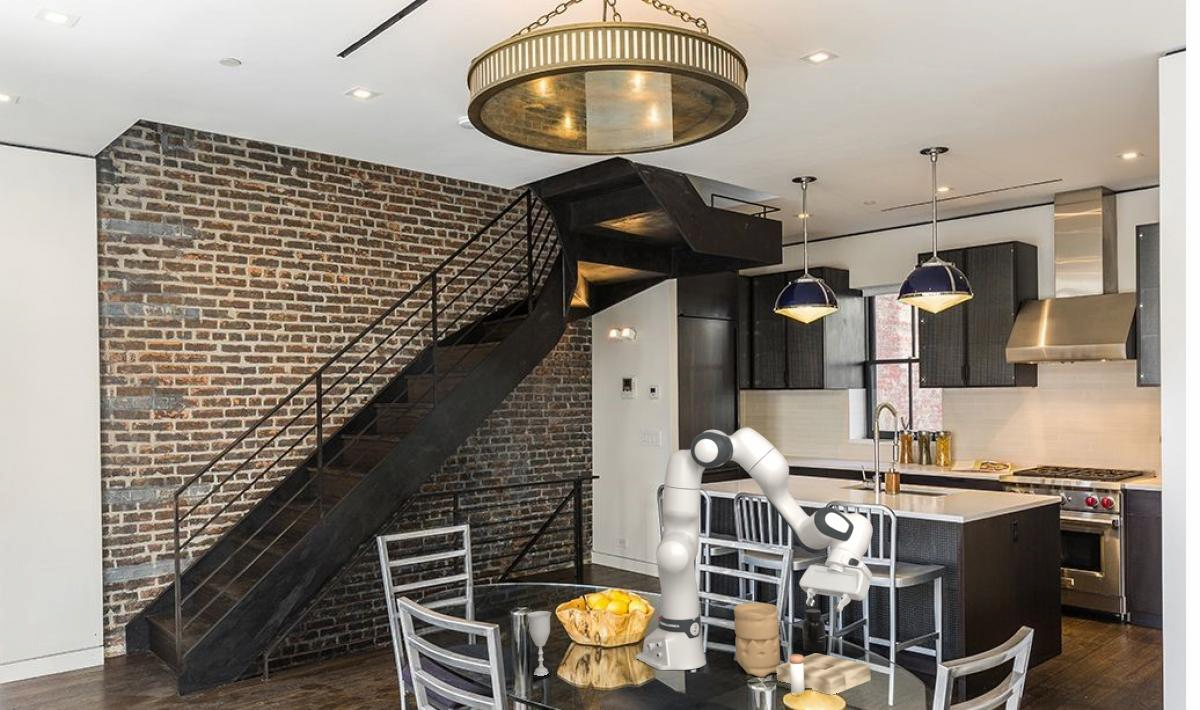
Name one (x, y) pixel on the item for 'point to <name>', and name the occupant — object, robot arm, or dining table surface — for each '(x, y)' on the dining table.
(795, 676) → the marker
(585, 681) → the dining table surface
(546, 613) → the chalice
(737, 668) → the dining table surface
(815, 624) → the supplement bottle
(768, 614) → the container
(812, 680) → the socket block
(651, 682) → the dining table surface
